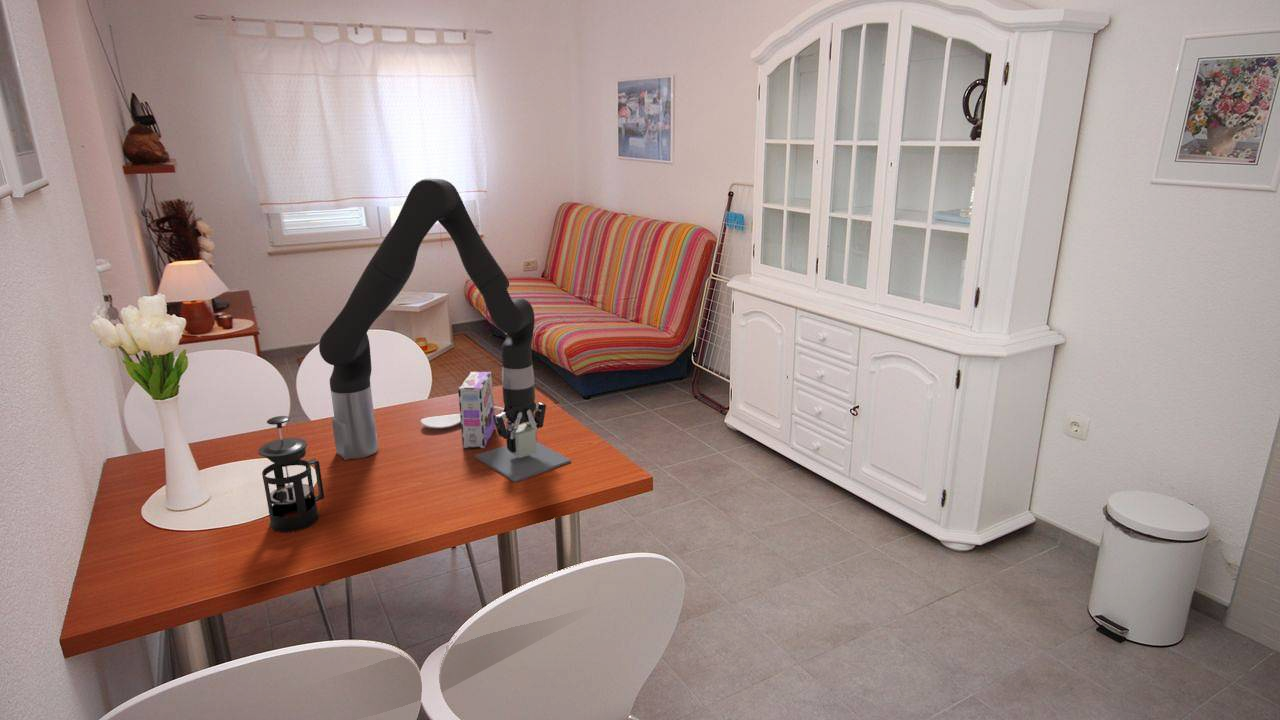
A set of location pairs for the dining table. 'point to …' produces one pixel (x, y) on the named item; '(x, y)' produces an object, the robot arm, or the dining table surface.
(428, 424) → the spoon
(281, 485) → the french press
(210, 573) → the dining table surface
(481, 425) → the candy box
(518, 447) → the sage block
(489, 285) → the robot arm
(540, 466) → the placemat
